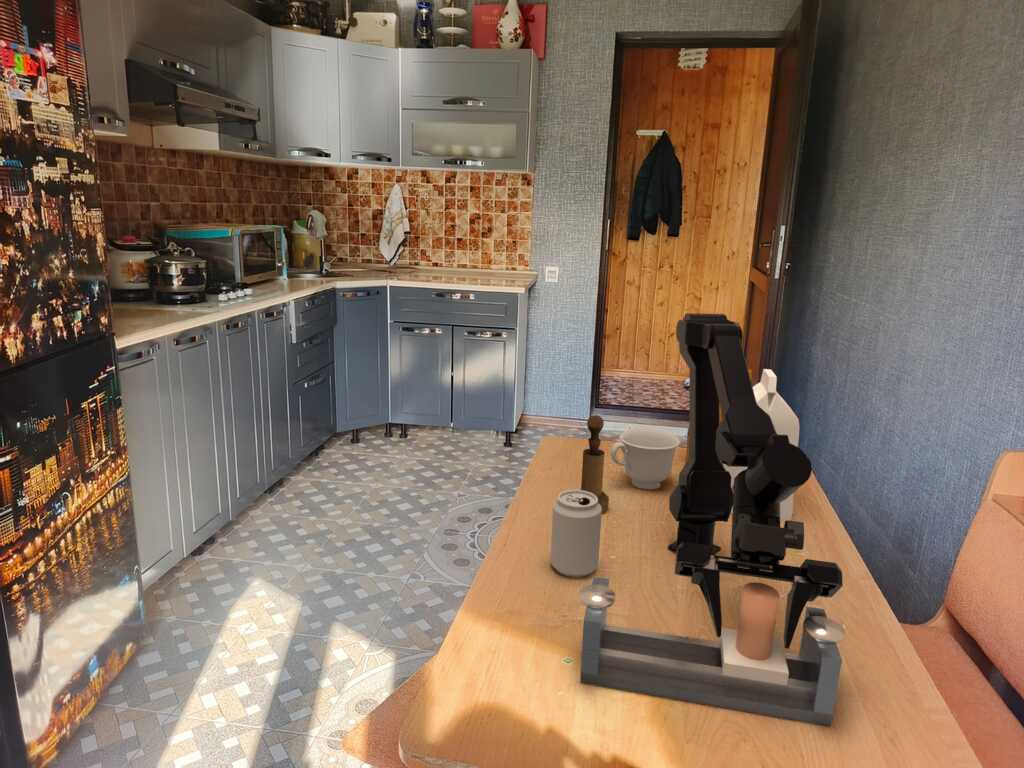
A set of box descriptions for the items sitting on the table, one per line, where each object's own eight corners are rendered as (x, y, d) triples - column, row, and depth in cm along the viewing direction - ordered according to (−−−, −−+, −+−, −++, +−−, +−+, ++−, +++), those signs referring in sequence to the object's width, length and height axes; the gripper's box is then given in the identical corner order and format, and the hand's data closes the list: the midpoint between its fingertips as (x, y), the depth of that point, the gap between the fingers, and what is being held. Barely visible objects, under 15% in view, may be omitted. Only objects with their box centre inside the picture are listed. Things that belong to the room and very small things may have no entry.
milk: (791, 520, 128) (810, 383, 121) (726, 514, 130) (741, 378, 123) (779, 494, 139) (796, 367, 132) (719, 488, 141) (733, 363, 134)
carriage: (722, 674, 80) (731, 603, 78) (719, 638, 87) (727, 572, 85) (787, 685, 79) (797, 613, 77) (778, 648, 86) (788, 580, 83)
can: (595, 582, 105) (600, 509, 102) (546, 576, 107) (549, 504, 104) (599, 558, 112) (604, 489, 109) (553, 552, 114) (556, 484, 111)
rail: (570, 680, 84) (573, 614, 81) (581, 632, 93) (584, 571, 91) (842, 728, 77) (855, 657, 75) (824, 670, 87) (835, 606, 84)
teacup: (593, 479, 144) (595, 433, 141) (652, 469, 150) (656, 425, 147) (626, 502, 133) (629, 453, 131) (688, 490, 139) (693, 443, 137)
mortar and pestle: (611, 503, 133) (617, 413, 128) (604, 517, 127) (610, 423, 122) (577, 498, 135) (582, 409, 130) (568, 511, 129) (573, 419, 124)
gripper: (684, 481, 84) (674, 612, 76) (852, 501, 80) (859, 642, 72) (679, 513, 93) (669, 633, 86) (828, 533, 89) (832, 661, 81)
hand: (752, 642), depth 81 cm, fingers open, 7 cm apart
